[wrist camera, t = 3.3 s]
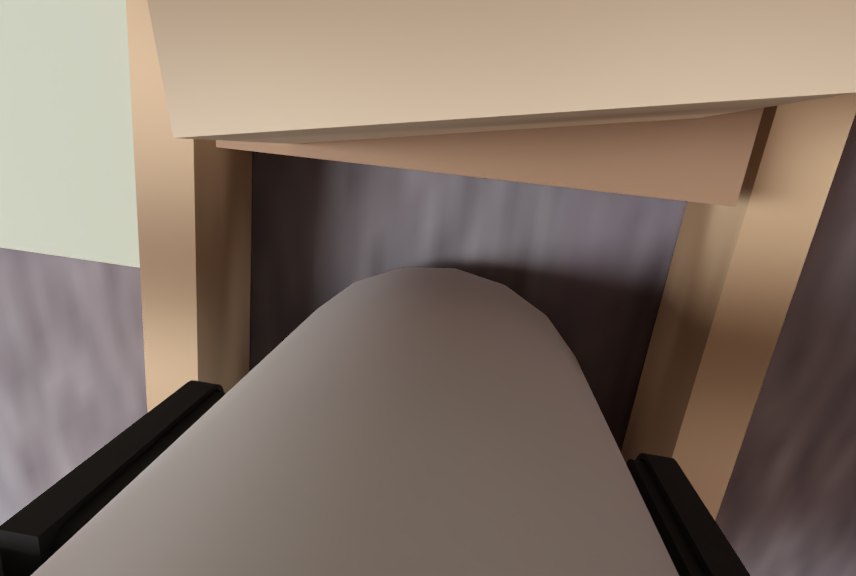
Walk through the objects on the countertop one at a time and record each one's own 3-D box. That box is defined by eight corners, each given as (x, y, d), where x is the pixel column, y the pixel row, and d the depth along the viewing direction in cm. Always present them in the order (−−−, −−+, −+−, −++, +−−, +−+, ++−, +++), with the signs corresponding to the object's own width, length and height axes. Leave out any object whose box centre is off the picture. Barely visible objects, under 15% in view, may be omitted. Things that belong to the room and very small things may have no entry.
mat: (-127, -71, 11) (-143, -77, 11) (165, -43, 10) (157, -48, 10) (-72, 233, 13) (-85, 234, 12) (175, 269, 12) (168, 271, 12)
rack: (197, -352, 9) (-327, -1293, 3) (900, -317, 8) (1980, -1537, 2) (209, 556, 15) (35, 813, 9) (616, 633, 14) (712, 972, 8)
